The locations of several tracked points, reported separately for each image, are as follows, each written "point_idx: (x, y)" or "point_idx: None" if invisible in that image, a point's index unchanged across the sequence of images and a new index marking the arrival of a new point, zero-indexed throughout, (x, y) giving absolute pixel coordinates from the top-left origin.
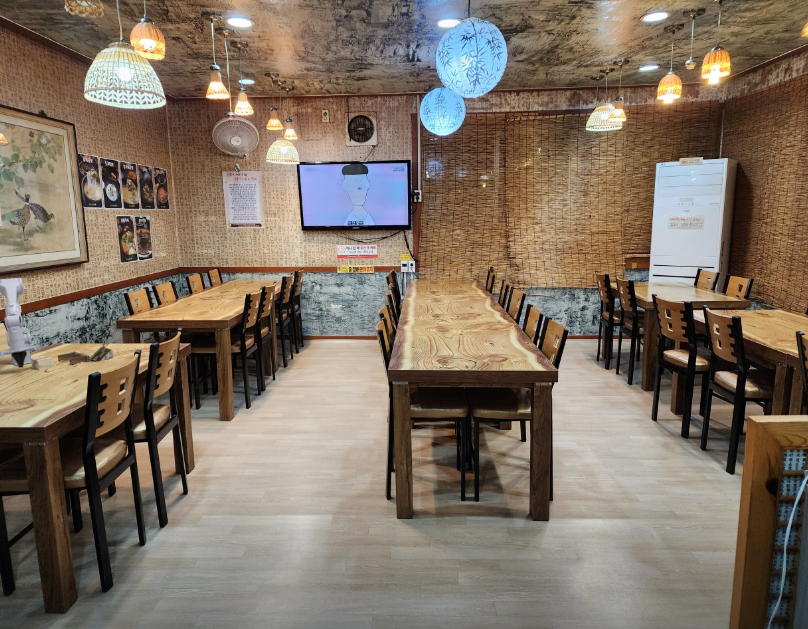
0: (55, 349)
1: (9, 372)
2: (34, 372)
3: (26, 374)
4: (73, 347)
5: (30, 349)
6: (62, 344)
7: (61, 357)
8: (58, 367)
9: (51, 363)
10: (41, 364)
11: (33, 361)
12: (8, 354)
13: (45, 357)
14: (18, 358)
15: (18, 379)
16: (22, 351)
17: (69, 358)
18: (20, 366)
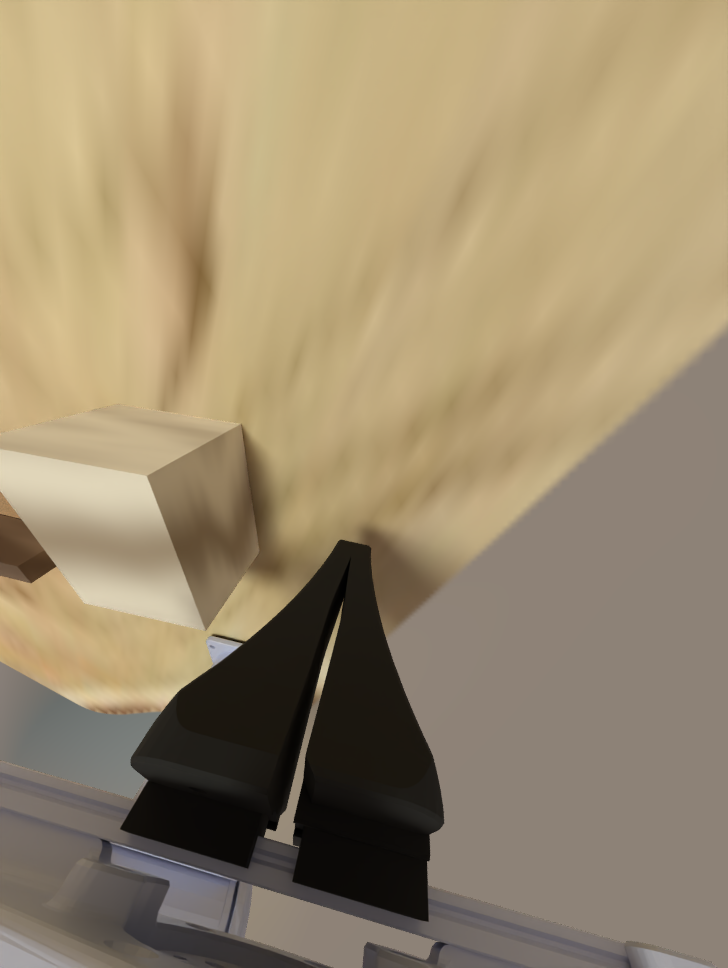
0: (110, 692)
1: (411, 592)
2: (307, 378)
3: (400, 378)
4: (42, 664)
5: (8, 811)
6: (89, 708)
7: (26, 547)
8: (61, 324)
9: (76, 417)
10: (168, 439)
11: (210, 570)
12: (509, 910)
13: (61, 542)
14: (367, 667)
15: (691, 127)
16: (193, 849)
17: (3, 521)
18: (365, 553)
